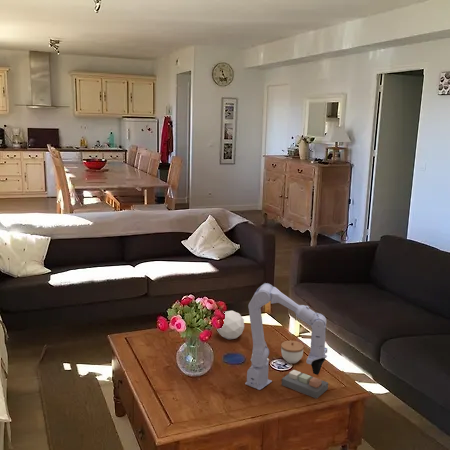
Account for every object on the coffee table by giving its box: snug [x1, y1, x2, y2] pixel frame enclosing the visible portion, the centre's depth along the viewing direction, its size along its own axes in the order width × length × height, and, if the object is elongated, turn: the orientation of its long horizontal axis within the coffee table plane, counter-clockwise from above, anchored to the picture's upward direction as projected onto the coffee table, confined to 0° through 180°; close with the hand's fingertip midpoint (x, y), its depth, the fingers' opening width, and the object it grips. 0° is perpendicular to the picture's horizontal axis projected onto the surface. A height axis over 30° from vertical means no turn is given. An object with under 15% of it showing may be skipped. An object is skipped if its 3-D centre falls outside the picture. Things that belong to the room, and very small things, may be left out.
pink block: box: [309, 376, 323, 388], centre depth 215 cm, size 4×4×3 cm
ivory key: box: [288, 369, 302, 380], centre depth 221 cm, size 4×4×3 cm
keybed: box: [281, 372, 329, 399], centre depth 219 cm, size 10×17×3 cm, turn 52°
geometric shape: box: [216, 310, 245, 340], centre depth 265 cm, size 14×15×15 cm
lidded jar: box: [280, 340, 305, 364], centre depth 242 cm, size 11×11×9 cm
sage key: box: [299, 372, 312, 384], centre depth 218 cm, size 4×4×3 cm
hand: (316, 373), depth 214 cm, fingers closed
